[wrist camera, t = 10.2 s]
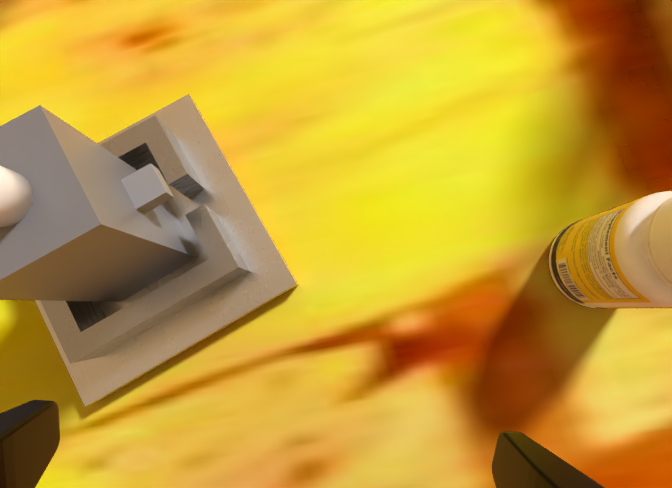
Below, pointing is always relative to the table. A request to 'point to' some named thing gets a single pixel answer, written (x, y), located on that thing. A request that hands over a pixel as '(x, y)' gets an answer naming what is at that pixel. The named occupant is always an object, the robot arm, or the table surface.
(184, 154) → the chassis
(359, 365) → the table surface
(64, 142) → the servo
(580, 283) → the supplement bottle
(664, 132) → the table surface
